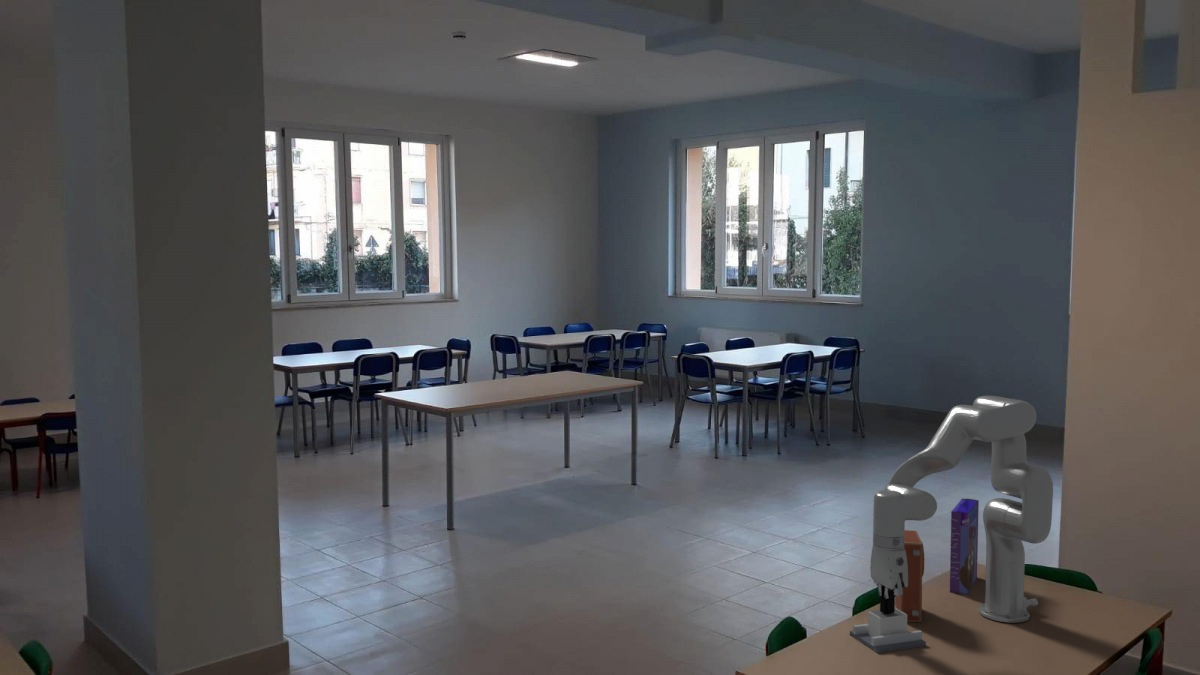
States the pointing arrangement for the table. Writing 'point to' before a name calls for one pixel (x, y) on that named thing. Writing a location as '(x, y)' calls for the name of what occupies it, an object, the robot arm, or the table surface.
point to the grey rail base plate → (887, 639)
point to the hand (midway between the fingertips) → (887, 612)
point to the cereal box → (964, 546)
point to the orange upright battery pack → (912, 578)
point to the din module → (886, 623)
